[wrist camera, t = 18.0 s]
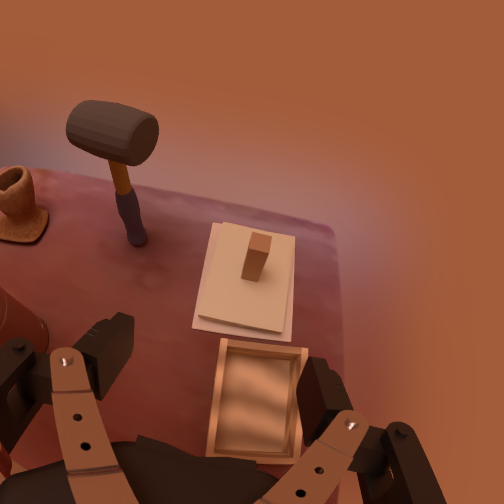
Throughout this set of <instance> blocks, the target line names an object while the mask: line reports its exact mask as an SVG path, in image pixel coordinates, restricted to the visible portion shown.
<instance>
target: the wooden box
mask: <svg viewBox="0 0 504 504" xmlns="http://www.w3.org/2000/svg"><path fill="white" fill-rule="evenodd" d="M307 359H308V348H299V347H288V346H279V345H270V344H261V343H253V342H246V341H238V340H232V339H225V338H221V340H220V345H219V350H218V357H217V364H216V372H215V379H214V387H213V394H212V402H211V410H210V418H209V426H208V434H207V442H206V451H205V457H233V458H239V459H247V460H255V461H256V463H257V464H295V463H296V462H297V461H298V460H299V459H300V453H301V443H302V433H303V432H302V426H301V420H300V414H299V409H298V403H297V397H296V387H297V383H298V380H299V378H300V375H301V373H302V370H303V368H304V366H305V363H306V361H307Z"/></svg>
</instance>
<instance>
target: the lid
mask: <svg viewBox="0 0 504 504" xmlns="http://www.w3.org/2000/svg"><path fill="white" fill-rule="evenodd" d="M293 241H294V238H292V237H287V236H283V235H279V234H275V233H270V232H266V231H262V230H257V229H253V228H249V227H244V226H240V225H236V224H231V223H227V222H223V225H222V228H221V232H220V235H219V239H218V242H217V246H216V249H215V253H214V257H213V260H212V264H211V267H210V271H209V275H208V279H207V282H206V286H205V290H204V294H203V297H202V301H201V305H200V309H199V313H198V317H200V318H204V319H208V320H213V321H217V322H221V323H226V324H230V325H235V326H240V327H244V328H249V329H254V330H259V331H264V332H269V333H275V334H281V333H282V332H283V325H284V317H285V310H286V302H287V294H288V286H289V277H290V269H291V260H292V251H293Z"/></svg>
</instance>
